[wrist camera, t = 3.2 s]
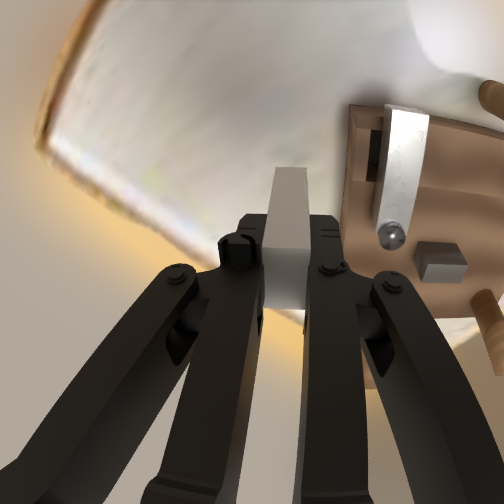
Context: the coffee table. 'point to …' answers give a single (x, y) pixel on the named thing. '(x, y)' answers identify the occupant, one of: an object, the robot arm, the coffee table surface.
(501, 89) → the loose leg
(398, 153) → the keeper bar
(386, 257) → the stool
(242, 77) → the coffee table surface
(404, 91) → the coffee table surface
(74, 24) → the coffee table surface
